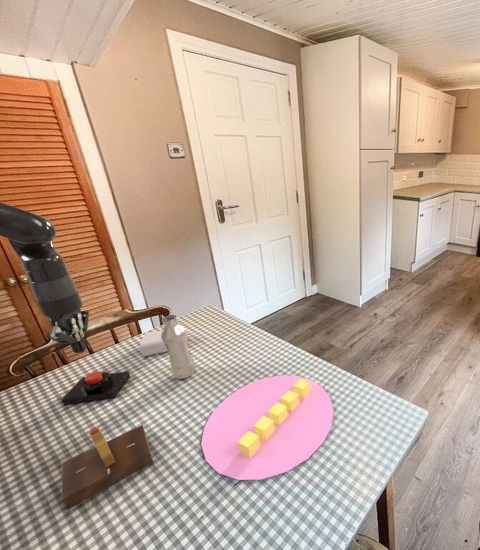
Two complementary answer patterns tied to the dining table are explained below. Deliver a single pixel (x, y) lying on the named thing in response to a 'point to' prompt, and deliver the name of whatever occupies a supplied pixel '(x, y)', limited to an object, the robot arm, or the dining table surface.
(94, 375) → the button
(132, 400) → the dining table surface
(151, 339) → the charger
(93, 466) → the plate
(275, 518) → the dining table surface
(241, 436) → the platter
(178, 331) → the plastic bottle
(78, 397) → the switch block
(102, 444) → the lock knob
